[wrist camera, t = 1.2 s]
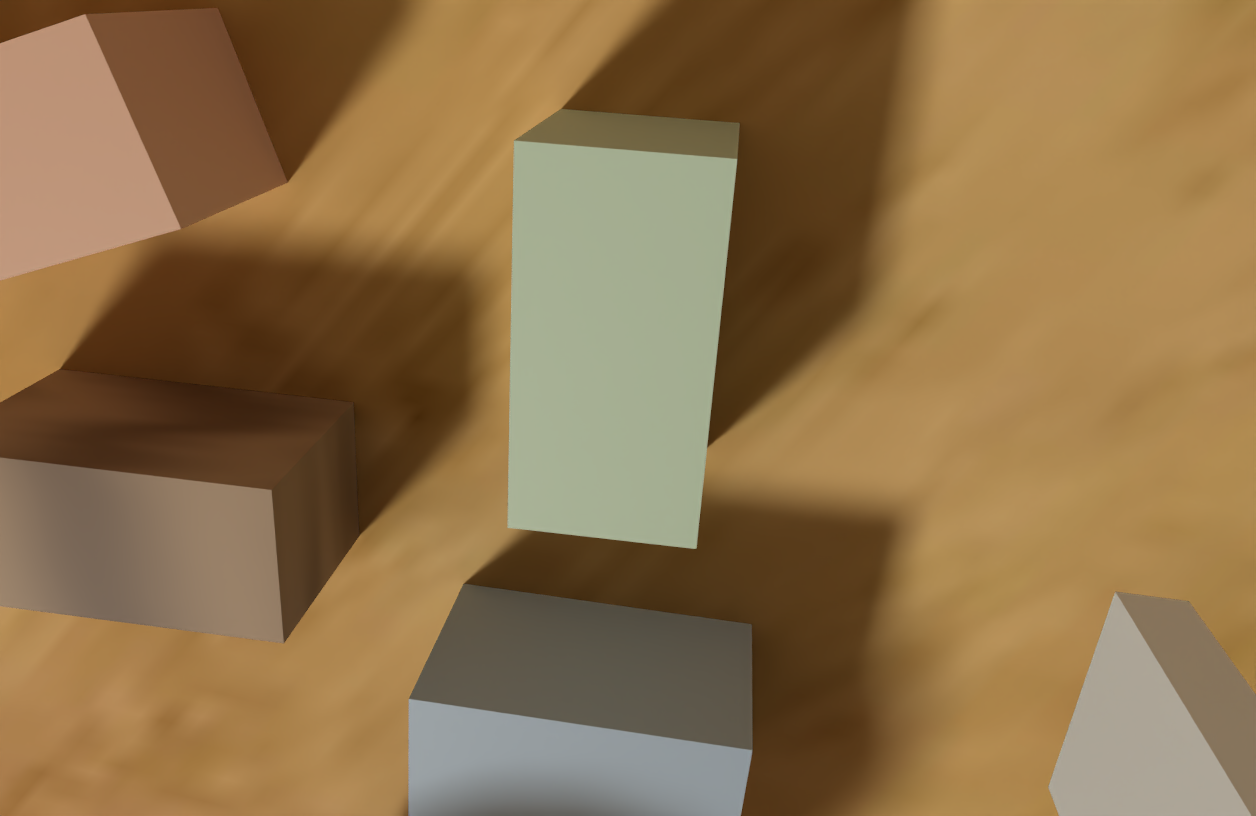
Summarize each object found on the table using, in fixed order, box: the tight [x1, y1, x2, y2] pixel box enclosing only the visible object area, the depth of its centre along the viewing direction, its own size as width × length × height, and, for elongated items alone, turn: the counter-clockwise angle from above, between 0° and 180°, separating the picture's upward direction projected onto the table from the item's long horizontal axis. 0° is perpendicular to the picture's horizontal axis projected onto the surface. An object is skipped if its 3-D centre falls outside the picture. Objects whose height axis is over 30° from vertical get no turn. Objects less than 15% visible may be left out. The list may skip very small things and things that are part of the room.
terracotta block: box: [0, 8, 288, 280], centre depth 22 cm, size 8×4×5 cm, turn 106°
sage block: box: [508, 109, 740, 549], centre depth 22 cm, size 8×4×5 cm, turn 177°
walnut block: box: [0, 369, 359, 643], centre depth 25 cm, size 8×4×5 cm, turn 86°
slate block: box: [408, 584, 753, 816], centre depth 26 cm, size 8×4×5 cm, turn 85°
